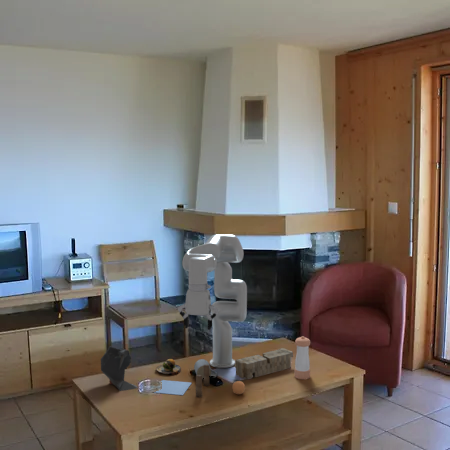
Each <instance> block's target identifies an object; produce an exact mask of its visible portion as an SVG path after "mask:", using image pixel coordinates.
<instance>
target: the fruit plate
mask: <svg viewBox="0 0 450 450" xmlns="http://www.w3.org/2000/svg"><path fill="white" fill-rule="evenodd" d="M155 370H156V371H158V372H159V373H160V374H161V373H162V374H165V375H167V374H170V375H171V376H175V375H177V373H178V374H180V373H181V372H182V368H181V366H180V365H178V364H176V360H174V359H173V358H169V359H167V360H166V362H165V361H164V362H163V364H160V365H158V366H156V368H155Z"/></svg>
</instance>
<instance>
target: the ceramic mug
mask: <svg viewBox="0 0 450 450" xmlns="http://www.w3.org/2000/svg"><path fill="white" fill-rule="evenodd" d="M203 365H209V376H210V377H211V376H215V377H214V378H216V377H217V376H218V372H216V371H215V370H214V369H212V368H211V365H210V362H209V361H208V360H207V359H204V358H203V359H202V358H201V359H198V360H197V361H195V363H194V365H193V366H194V367H193V369H194V371H195V372H194V373H195V374H196V375H202V380H204V379H203V378H204V370H203Z"/></svg>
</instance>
